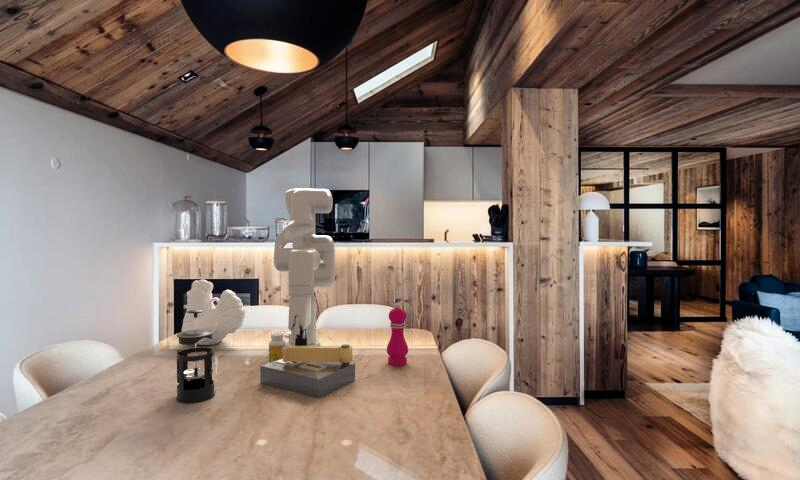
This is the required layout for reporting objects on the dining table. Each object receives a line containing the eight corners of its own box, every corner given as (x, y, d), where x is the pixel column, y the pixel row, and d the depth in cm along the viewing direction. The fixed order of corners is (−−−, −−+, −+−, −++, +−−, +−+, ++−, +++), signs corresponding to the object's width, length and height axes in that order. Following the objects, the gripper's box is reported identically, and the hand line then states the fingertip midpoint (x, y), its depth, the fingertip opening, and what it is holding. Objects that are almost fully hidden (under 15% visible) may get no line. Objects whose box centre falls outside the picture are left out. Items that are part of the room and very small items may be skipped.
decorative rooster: (172, 345, 166) (171, 280, 165) (206, 336, 180) (206, 276, 179) (220, 353, 155) (219, 284, 154) (252, 343, 169) (252, 280, 169)
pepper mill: (408, 360, 148) (409, 301, 148) (407, 366, 141) (407, 305, 141) (388, 359, 149) (388, 301, 148) (385, 365, 142) (385, 305, 141)
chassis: (260, 382, 125) (260, 364, 125) (299, 368, 139) (299, 351, 139) (318, 398, 114) (318, 377, 114) (355, 380, 128) (355, 362, 128)
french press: (224, 393, 117) (224, 308, 116) (194, 406, 108) (194, 314, 108) (194, 386, 122) (194, 305, 121) (163, 398, 113) (163, 310, 113)
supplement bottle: (265, 364, 143) (265, 335, 142) (275, 360, 148) (275, 331, 147) (278, 366, 141) (278, 336, 140) (288, 361, 146) (288, 333, 145)
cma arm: (353, 361, 129) (353, 343, 129) (351, 365, 125) (351, 347, 125) (286, 360, 129) (286, 343, 129) (282, 364, 125) (282, 346, 125)
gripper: (295, 287, 138) (294, 344, 139) (281, 293, 123) (281, 358, 124) (318, 287, 138) (318, 344, 139) (308, 294, 123) (308, 358, 124)
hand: (301, 350), depth 131 cm, fingers closed
